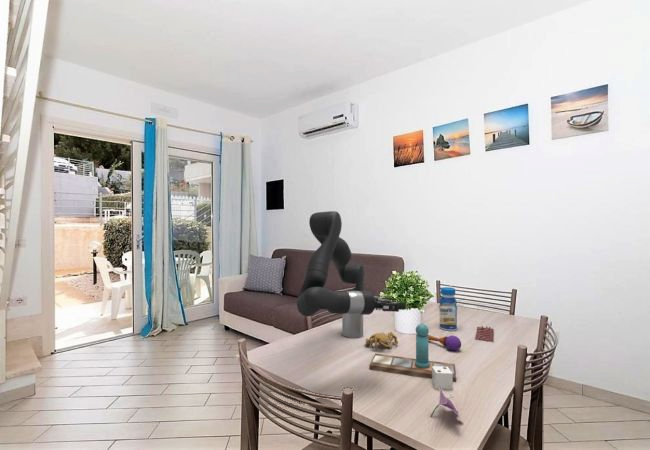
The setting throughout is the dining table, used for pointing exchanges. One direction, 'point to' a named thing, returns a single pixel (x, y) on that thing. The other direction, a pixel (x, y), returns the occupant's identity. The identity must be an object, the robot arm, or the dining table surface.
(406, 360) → the board
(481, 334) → the chocolate bar
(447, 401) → the lily
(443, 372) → the die
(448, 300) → the beverage bottle
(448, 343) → the kendama
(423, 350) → the pawn
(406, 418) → the dining table surface
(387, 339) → the crab model
